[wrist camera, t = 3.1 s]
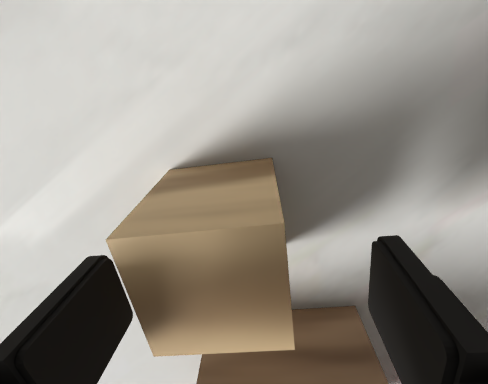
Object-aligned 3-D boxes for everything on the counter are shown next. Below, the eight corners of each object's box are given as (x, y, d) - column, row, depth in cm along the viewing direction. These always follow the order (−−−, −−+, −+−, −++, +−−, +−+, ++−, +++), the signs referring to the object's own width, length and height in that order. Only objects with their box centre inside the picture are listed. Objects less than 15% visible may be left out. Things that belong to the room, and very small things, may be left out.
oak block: (169, 169, 13) (105, 239, 7) (271, 157, 12) (284, 223, 7) (191, 252, 15) (153, 356, 9) (280, 245, 14) (294, 349, 9)
